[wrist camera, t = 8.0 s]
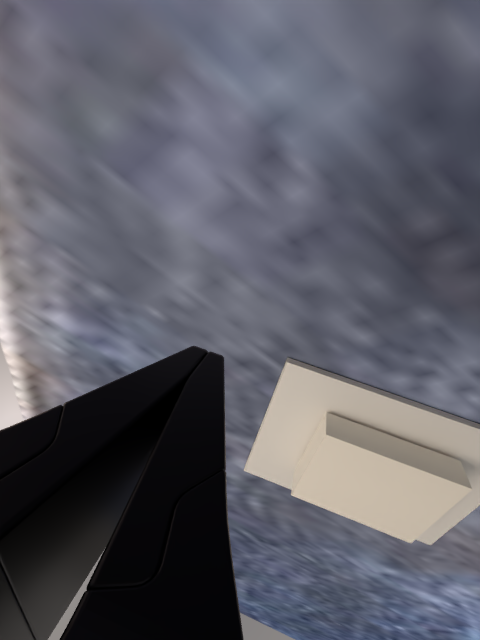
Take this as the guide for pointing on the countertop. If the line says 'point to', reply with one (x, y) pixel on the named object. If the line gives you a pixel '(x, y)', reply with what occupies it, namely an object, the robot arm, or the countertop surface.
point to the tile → (377, 478)
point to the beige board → (365, 409)
